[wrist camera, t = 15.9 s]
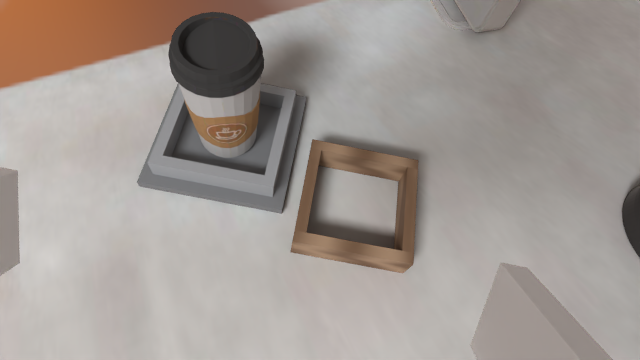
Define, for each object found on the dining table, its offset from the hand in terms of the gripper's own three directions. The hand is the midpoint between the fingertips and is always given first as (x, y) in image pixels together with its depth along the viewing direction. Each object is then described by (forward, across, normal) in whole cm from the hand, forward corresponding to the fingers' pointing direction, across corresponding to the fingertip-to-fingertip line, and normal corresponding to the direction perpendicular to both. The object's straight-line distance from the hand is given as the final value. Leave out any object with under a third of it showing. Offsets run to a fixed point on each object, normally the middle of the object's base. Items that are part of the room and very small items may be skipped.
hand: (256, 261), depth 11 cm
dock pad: (+38, -9, -6) cm, 40 cm away
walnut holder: (+34, +7, -11) cm, 36 cm away
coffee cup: (+38, -9, -6) cm, 39 cm away
